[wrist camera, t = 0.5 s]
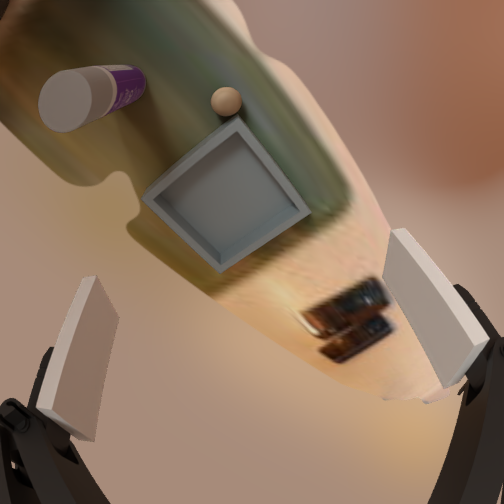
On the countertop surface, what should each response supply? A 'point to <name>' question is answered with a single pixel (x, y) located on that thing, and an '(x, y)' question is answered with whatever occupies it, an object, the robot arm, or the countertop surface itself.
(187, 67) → the countertop surface
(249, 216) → the tray
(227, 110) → the ball
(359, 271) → the countertop surface
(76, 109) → the container
